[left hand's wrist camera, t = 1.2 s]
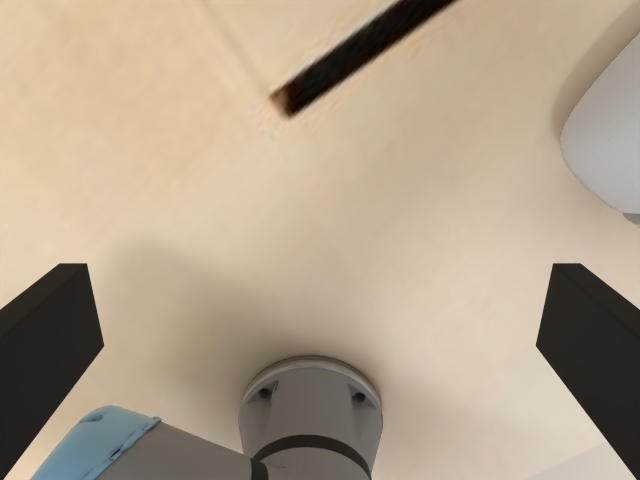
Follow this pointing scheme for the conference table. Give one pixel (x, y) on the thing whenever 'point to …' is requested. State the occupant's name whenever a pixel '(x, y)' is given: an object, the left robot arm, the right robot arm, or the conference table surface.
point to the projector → (609, 135)
